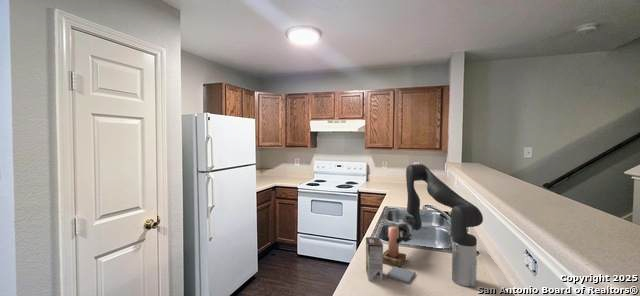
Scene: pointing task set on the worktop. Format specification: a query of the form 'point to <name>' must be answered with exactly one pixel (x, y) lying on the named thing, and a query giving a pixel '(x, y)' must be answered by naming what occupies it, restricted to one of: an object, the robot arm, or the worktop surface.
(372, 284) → the worktop surface
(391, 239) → the plug
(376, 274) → the coffee box
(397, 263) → the socket block
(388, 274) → the mat
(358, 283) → the worktop surface
